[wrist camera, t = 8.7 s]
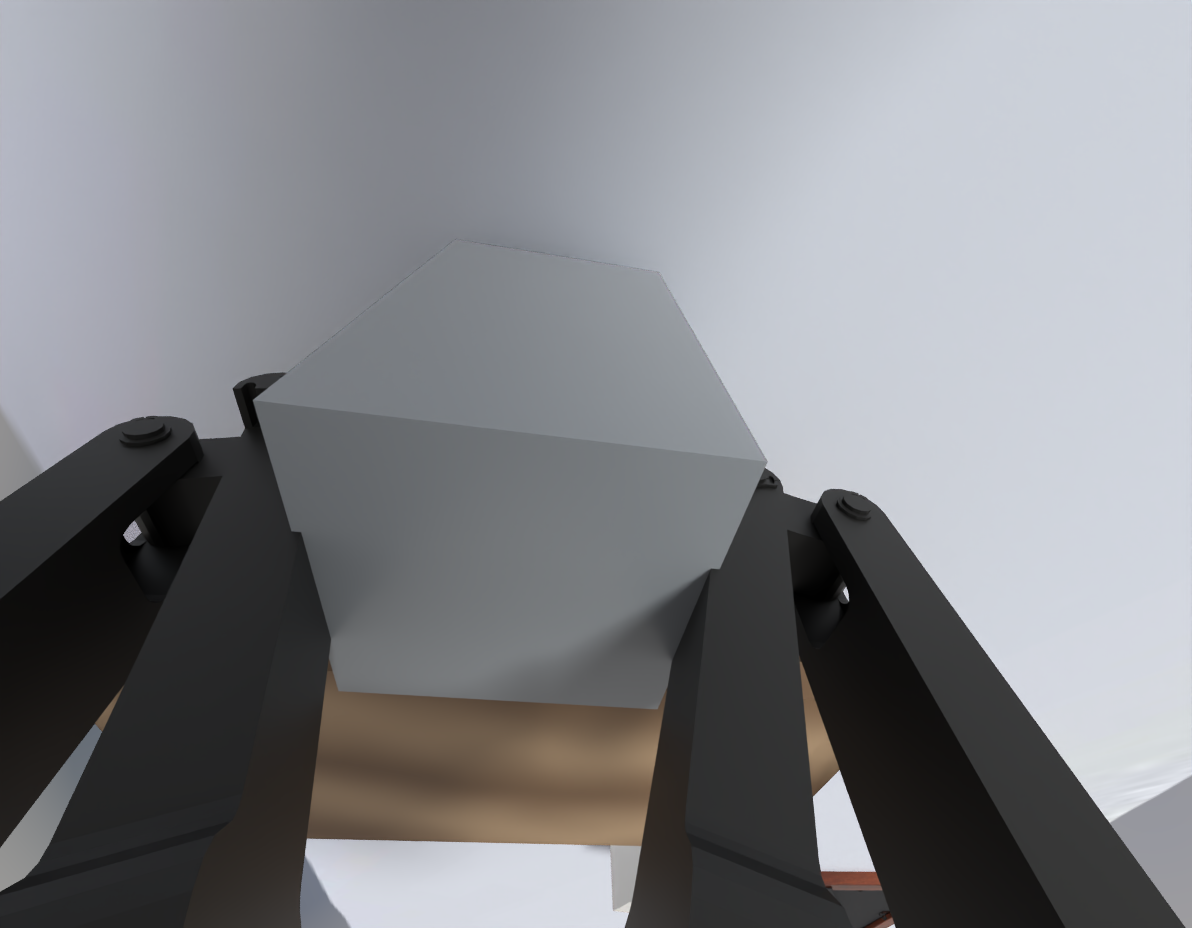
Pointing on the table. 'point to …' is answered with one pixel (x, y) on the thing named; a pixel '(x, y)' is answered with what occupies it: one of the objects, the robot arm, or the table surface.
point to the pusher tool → (511, 480)
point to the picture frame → (860, 898)
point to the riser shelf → (493, 768)
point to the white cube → (623, 875)
